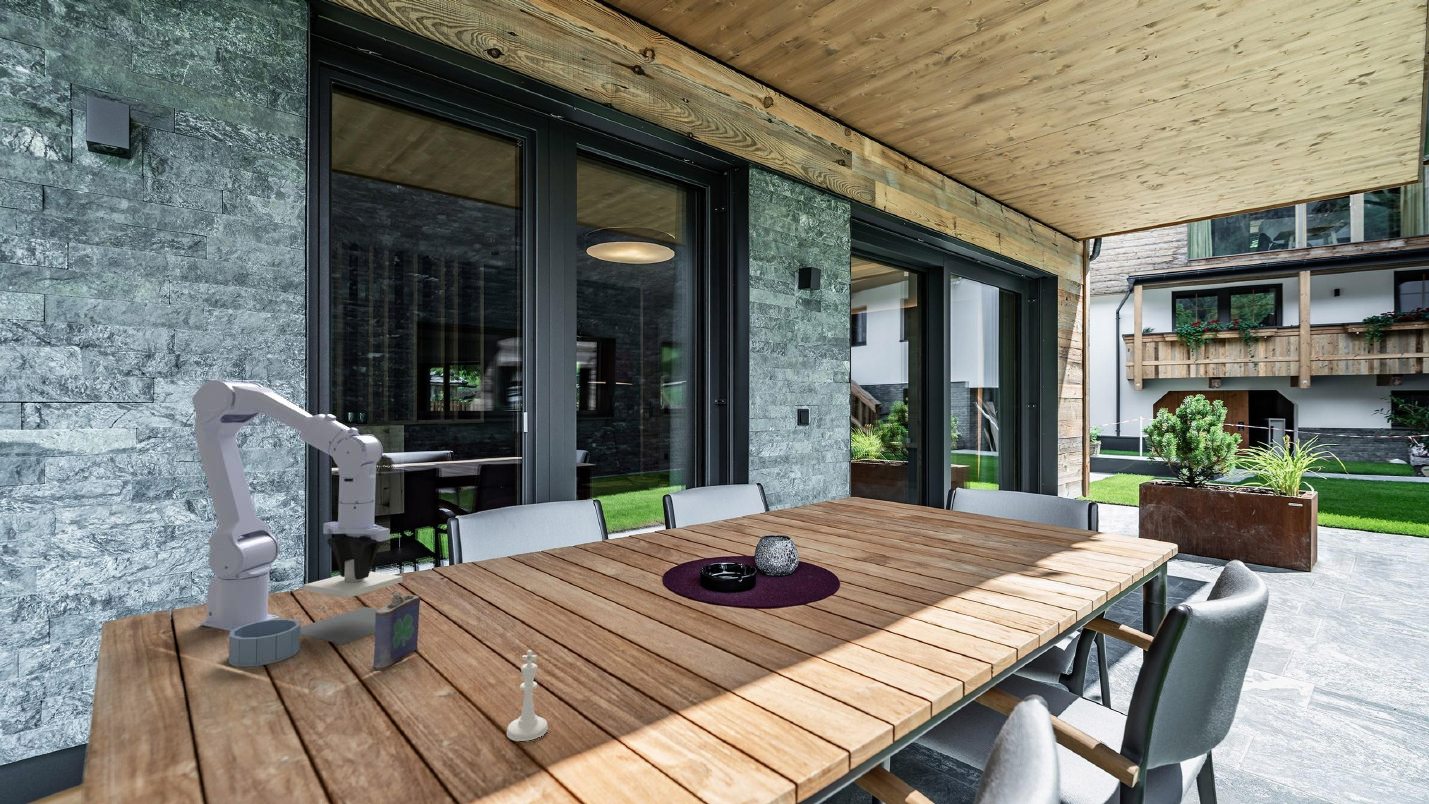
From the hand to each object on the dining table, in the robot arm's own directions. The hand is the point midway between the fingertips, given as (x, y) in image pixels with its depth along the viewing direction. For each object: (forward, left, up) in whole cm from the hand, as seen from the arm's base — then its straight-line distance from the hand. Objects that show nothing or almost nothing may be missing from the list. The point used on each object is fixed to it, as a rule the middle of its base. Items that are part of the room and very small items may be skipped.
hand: (354, 576), depth 112 cm
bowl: (0, -15, -9) cm, 18 cm away
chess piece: (+52, -16, -9) cm, 55 cm away
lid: (0, 0, -2) cm, 2 cm away
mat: (0, 0, -9) cm, 9 cm away
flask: (+19, -7, -9) cm, 22 cm away
